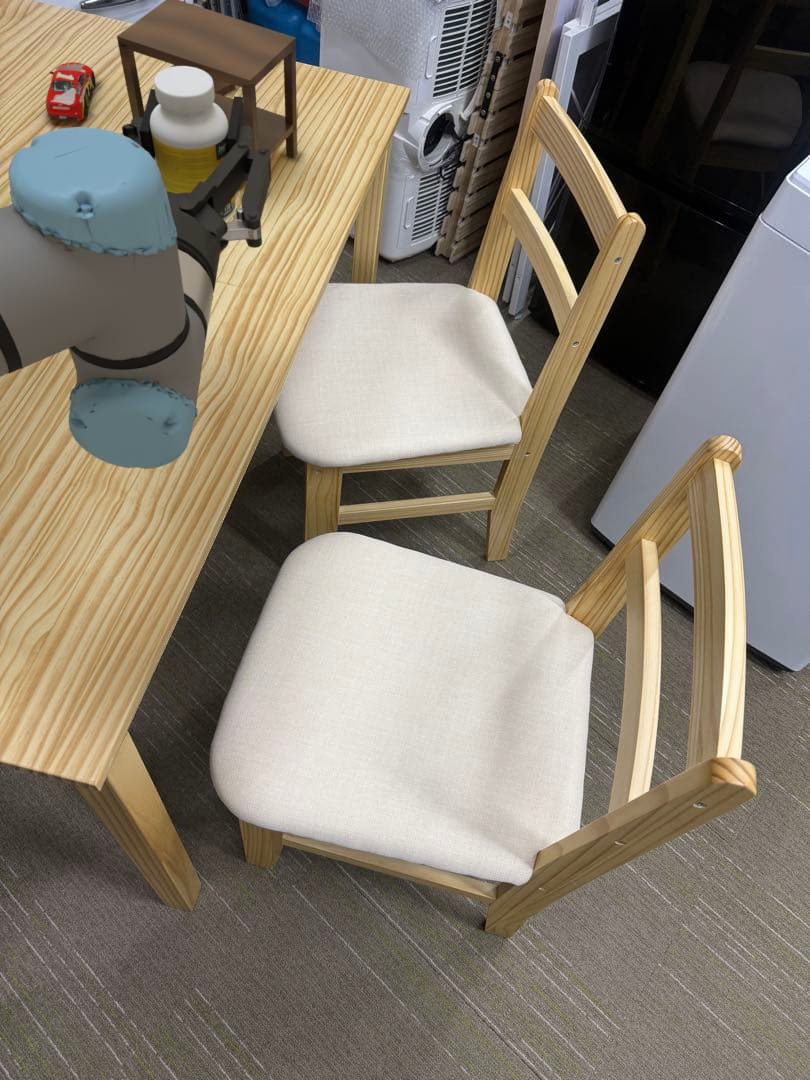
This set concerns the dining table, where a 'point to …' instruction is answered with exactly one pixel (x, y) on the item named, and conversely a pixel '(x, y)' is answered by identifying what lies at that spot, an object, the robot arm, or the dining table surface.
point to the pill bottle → (188, 130)
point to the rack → (217, 62)
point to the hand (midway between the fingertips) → (198, 108)
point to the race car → (70, 92)
